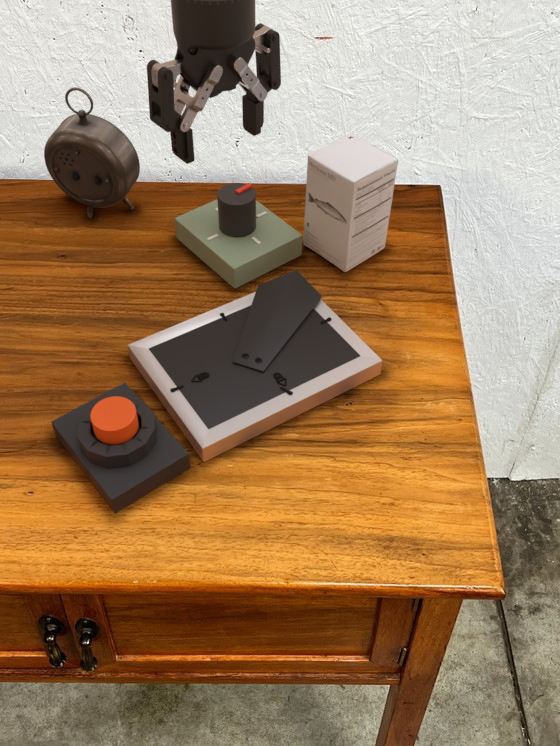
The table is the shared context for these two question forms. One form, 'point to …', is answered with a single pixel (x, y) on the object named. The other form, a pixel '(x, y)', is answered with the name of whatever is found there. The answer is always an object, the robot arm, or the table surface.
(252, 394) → the picture frame
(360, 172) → the white packaging box
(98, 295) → the table surface
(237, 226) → the dial knob
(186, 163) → the robot arm
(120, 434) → the orange button cap
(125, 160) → the alarm clock
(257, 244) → the dial panel
